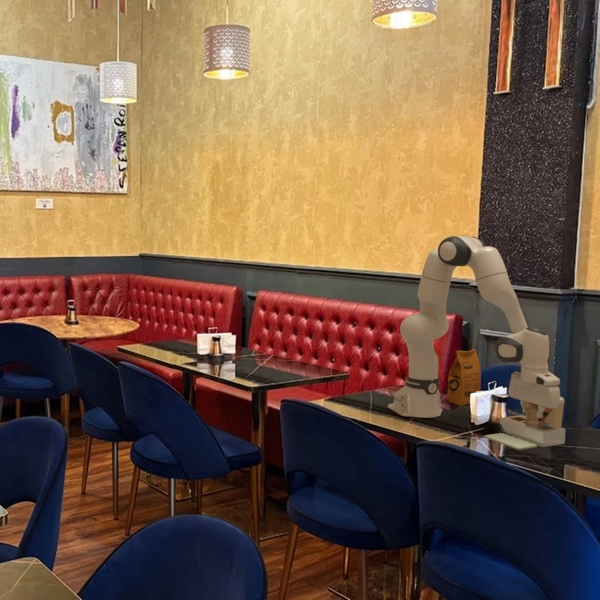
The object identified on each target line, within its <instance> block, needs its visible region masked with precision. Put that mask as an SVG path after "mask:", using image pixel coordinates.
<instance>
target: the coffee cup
mask: <svg viewBox="0 0 600 600" xmlns="http://www.w3.org/2000/svg"><path fill="white" fill-rule="evenodd" d="M564 405H565V399H564V397H563V396H560V404H559V406H558V407H557V408H554V409H550V408H545V410H544V412H543V413H542V418H538V420H539V421H542V422H545V423H548V424H551V425H555V426H558V427H561V428H562V421H563V415H564V414H563V413H564Z"/></svg>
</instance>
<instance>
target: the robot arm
mask: <svg viewBox="0 0 600 600" xmlns="http://www.w3.org/2000/svg"><path fill="white" fill-rule="evenodd" d="M458 267H461V268H462V267H469V268H470V269H471V270H472V271H473V274H474V279H475V282H476V285H477V289H478V291H479V293H480V296H481V298H482V299H483V300H485V301H487V302H488V303H490V304H492V305H495V306H496V307H498V308H499V309H500V310H502V311H503V313H504V315H505V317H506V320H507V323H508V325H509V328H510V331H511V333H512V334H508V335H504V336H501V337H499V339H497V341H496V343H495V346H494V353H495V355H496V357H497V359H498V360H499V361H500V362H502V363H506V364H514V363H520V372H519V371H517V370H516V371H513V372H512V373H511V376H510V381H509V387H508V395H509V397H510V398H513V399H516V400H519V401H520V406H521V408H522V414H524V415H526V407H527V402H529V403H533V404H536V405H538V408H539V410H538V412H535V417H536V418H542V413H543V412H544V410H545V408H550V409H554V408H557V407H558V406H559V404H560V397H561V391H560V390H561V389H560V386H559V385H560V384H561V380H560V378H559V377H557V376H556V375H555V374H553V373H552V372H550V371H549V364H548V359H549V356H550V338H549V335H548V333H547V331H545V330H544V329H542V328H538V327H531V326H530V325H529V321H528V320H527V317H526V315H525V312H524V309H523V306H522V304H521V302H520V300H519V297H518V296H517V293H516V292H515V290H514V289H513V286H512V283H511V281H510V278H509V275H508V271H507V268H506V265H505V263H504V260H503V258H502V256H501V254H500V252H499V250H498V249H497V248H496V247H493V246H489V245H488V246H487V245H486V243H485V242H484V241H483V240H482V239H480V238H479V237H476V236H471V235H459V236H458V235H457V236H455V235H454V236H451V235H450V236H448V237H446V238H443V240H441V241H440V243H439V245H438V247H437V248H435V249H432V250H430V252H429V253H428V255H427V257H426V259H425V262H424V266H423V269H422V272H421V277H420V279H419V280H420V281H419V285H418V288H417V298H418V299H419V312H418V313H413V314H411V315H409V316H407V317H406V318H404V319H403V320H402V322H401V324H400V328H399V331H400V336H401V337H402V338H403V339H404V341H405V343H406V344H405V345H406V348H407V353H408V359H409V360H408V376H405V377H404V379H403V380H404V381H405V385H403V387H401V388H400V389H398V390H397V391H396V392H395V393H394V396H393V397H394V398H393V403H389V404H387V408H388V409H390V410H391V411H394V412H396V414H398V415H400V416H403V417H411V418H412V417H413V418H437V417H440V416H441V415H442V412H443V408H442V407H441V406H442V405H441V393H440V390H439V387H440V378H439V356H438V354H436V351H435V347H434V340H439V339H440V338H441V337H443V336H444V335H445V334H446V333H448V331H449V327H450V324H449V320H448V318H447V299H448V296H449V292H450V291H449V290H450V287H451V283H452V278H453V275H454V274H453V273H454V271H455V269H456V268H458Z"/></svg>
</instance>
